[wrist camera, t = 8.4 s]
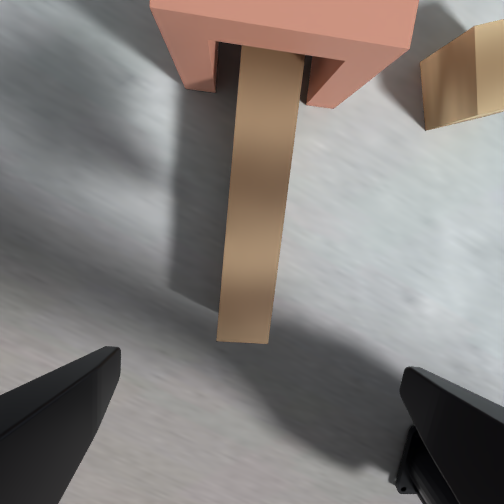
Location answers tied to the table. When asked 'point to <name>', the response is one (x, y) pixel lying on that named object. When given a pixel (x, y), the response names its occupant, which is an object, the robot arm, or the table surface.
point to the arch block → (290, 38)
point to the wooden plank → (258, 190)
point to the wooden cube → (465, 77)
